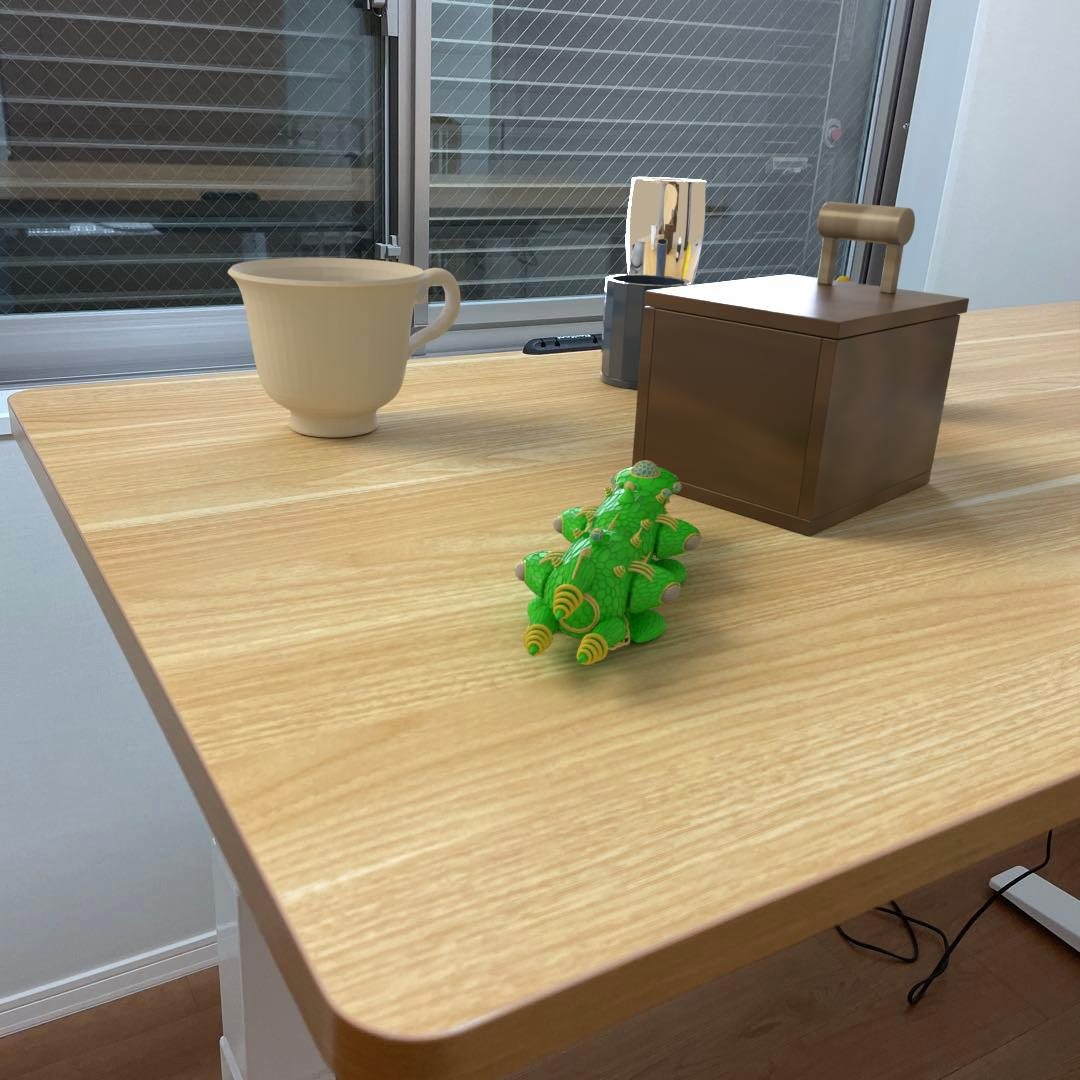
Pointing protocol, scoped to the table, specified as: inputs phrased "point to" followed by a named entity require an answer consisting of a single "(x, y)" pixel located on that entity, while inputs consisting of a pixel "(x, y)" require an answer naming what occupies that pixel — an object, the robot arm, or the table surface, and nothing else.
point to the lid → (823, 285)
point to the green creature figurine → (610, 567)
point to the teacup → (337, 334)
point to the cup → (627, 325)
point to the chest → (790, 414)
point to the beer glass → (665, 226)
